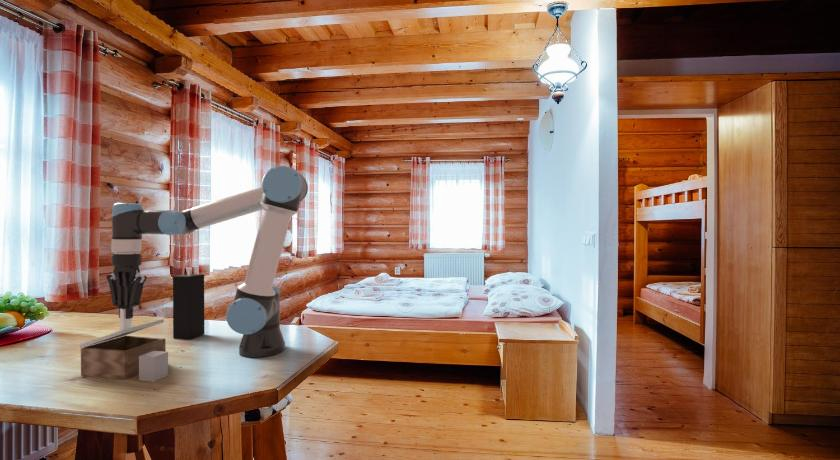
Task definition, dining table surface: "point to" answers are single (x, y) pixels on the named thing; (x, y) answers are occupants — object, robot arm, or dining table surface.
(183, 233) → the robot arm
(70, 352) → the dining table surface
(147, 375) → the stone block
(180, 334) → the tall black column
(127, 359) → the box
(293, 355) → the dining table surface
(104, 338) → the lid
